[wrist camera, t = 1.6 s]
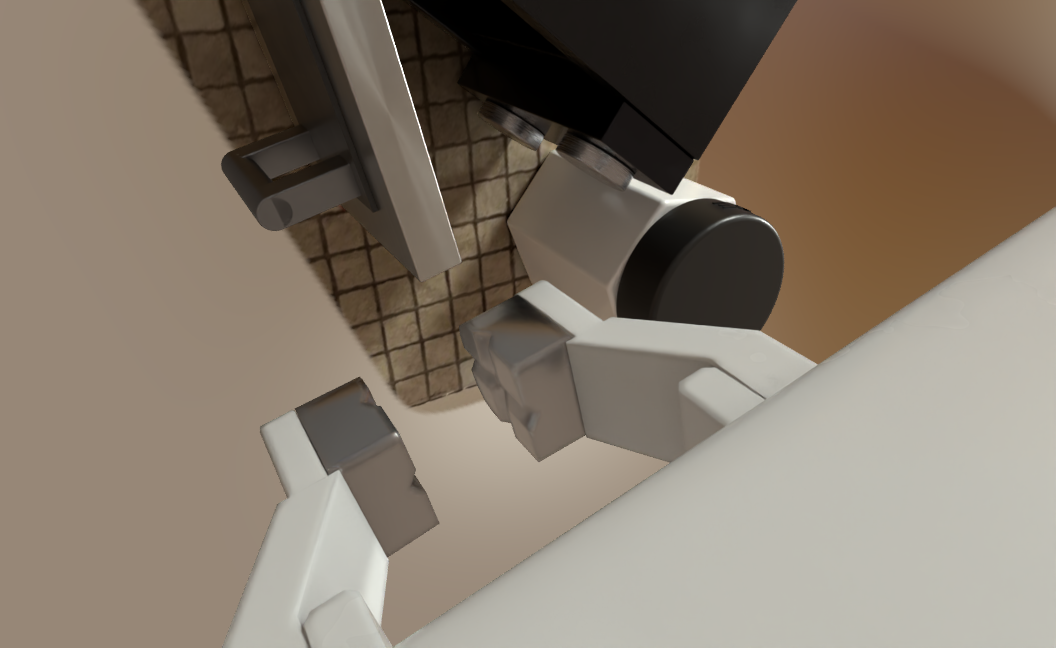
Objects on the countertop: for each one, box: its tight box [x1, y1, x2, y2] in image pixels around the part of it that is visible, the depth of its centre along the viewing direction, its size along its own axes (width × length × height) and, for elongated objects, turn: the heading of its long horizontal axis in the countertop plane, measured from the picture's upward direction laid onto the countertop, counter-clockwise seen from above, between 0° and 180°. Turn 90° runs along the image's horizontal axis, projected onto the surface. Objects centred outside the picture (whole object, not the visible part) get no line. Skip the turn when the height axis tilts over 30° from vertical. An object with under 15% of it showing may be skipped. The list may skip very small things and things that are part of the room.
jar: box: [507, 150, 784, 331], centre depth 36 cm, size 9×8×12 cm
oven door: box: [221, 0, 462, 282], centre depth 24 cm, size 5×11×12 cm, turn 13°
